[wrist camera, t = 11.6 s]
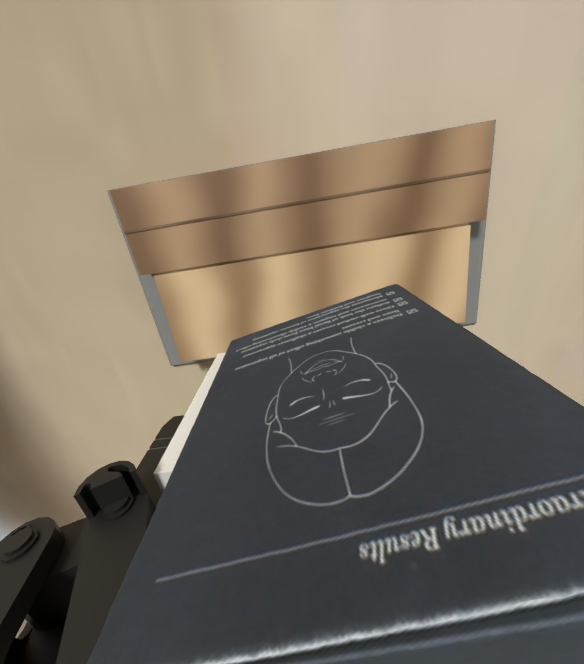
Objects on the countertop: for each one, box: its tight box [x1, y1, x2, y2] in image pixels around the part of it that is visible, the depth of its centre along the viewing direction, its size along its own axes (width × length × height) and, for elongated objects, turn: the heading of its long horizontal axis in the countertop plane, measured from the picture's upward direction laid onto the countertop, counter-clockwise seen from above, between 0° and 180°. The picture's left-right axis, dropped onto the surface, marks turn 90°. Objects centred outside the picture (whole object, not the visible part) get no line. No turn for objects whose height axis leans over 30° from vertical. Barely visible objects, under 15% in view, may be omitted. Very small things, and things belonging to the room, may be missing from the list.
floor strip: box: [110, 120, 495, 276], centre depth 21 cm, size 26×6×2 cm, turn 99°
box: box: [86, 284, 584, 664], centre depth 9 cm, size 8×6×11 cm
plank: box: [153, 223, 471, 362], centre depth 23 cm, size 24×8×2 cm, turn 99°
